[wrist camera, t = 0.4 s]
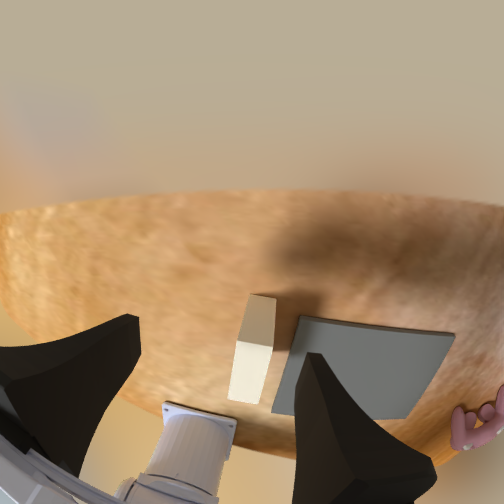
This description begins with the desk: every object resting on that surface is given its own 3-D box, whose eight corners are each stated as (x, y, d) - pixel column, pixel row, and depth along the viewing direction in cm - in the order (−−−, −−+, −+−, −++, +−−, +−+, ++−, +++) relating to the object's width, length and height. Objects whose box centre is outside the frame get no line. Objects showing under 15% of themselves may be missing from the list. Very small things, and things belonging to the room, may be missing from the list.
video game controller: (441, 415, 25) (448, 460, 20) (455, 406, 22) (463, 456, 17) (493, 392, 23) (502, 433, 18) (509, 380, 20) (520, 424, 15)
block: (264, 351, 22) (257, 404, 16) (240, 347, 22) (227, 398, 16) (276, 298, 20) (273, 347, 15) (249, 293, 20) (237, 340, 15)
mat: (404, 414, 23) (405, 418, 22) (271, 408, 24) (271, 412, 23) (452, 333, 20) (455, 336, 19) (300, 315, 20) (300, 319, 20)
